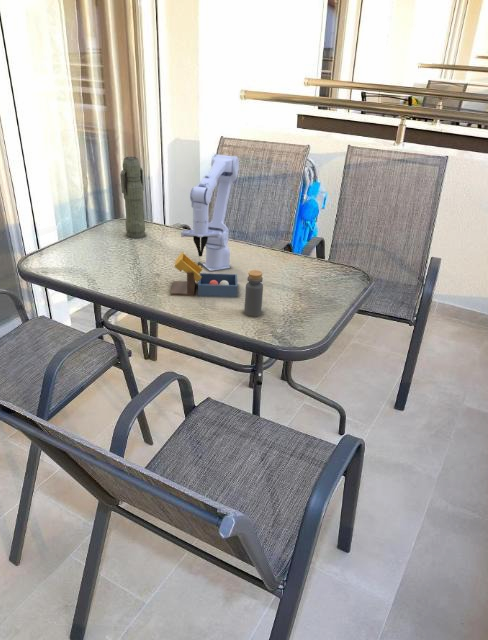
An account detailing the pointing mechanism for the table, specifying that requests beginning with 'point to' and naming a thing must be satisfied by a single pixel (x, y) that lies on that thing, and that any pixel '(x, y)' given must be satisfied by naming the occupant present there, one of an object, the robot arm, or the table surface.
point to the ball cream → (224, 282)
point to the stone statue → (133, 197)
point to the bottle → (254, 294)
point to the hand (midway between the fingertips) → (200, 255)
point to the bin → (217, 290)
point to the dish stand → (184, 286)
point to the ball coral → (213, 282)
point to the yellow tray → (188, 266)
